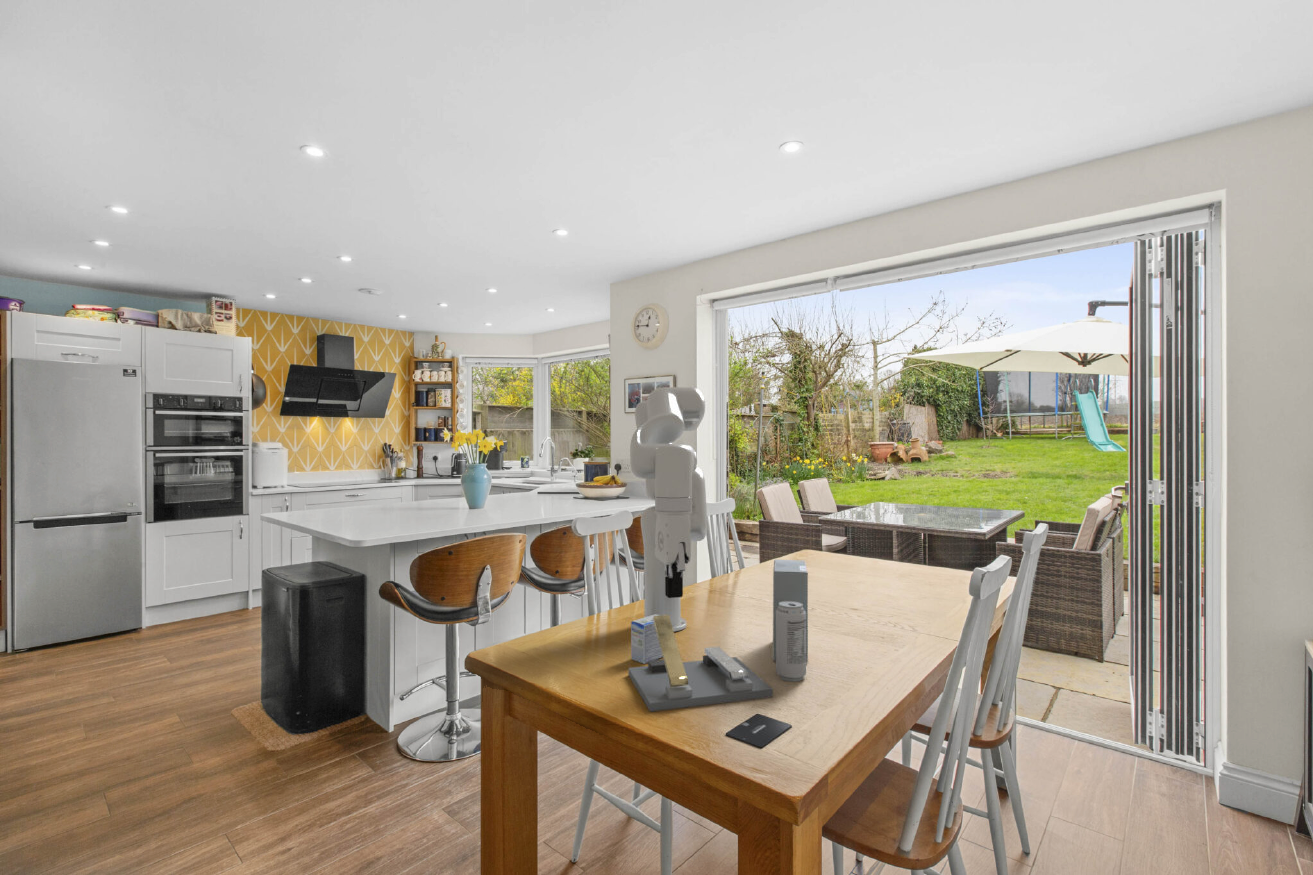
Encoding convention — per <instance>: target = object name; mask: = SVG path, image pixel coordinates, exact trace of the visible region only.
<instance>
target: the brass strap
mask: <svg viewBox="0 0 1313 875" xmlns="http://www.w3.org/2000/svg"><path fill="white" fill-rule="evenodd" d="M653 621H654V625H655V629H656V633H657V637H658V640H659V644H660V648H661V652H662V656H663V657H662V660H663V659H664V663H665V667H666V671H667V675H668V678H669V684H670V687H677V686H686V685H688V677H687V676H686V672H685V669H684V666H683V662H684V661H683V659H682V654H681V652H680V649H679V645H678V642H677V639H676V635H675V632H674V631H673V628H672V624H671V621H670V617H669V615H659V616H654V617H653Z"/></svg>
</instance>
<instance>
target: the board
mask: <svg viewBox="0 0 1313 875" xmlns="http://www.w3.org/2000/svg"><path fill="white" fill-rule="evenodd" d="M730 657H731V658H732V659H733V660H734V661H736V662H737V663H738V664H739V665H740V666H741V667H742V668H743V669H745V670H747V671H748V675H749V677H748V679H739V680H731V679H730V677H729V676H728V675H727V674H726V673H725V672H724V671H723V670H722V669H721V668H720V667H719V666H718V665H717V664H716V663H715V662H714V661H713V660H712V659H711V658H710V657H709V656H708V655H707V654H705V655H702V659H701V660H693V661H685V662H684V661H682V662H683V666H684V669H685V672H686V676H687V677H688V685H686V686H677V687H670V684H669V678H668V675H667V671H666V667H665V663H664V659H663V658H662V659H656V660H653V661H648V663H647V665H646V666H635V667H628V677H629V678H630V680H631V682H632V684H633V685H634V687H635V689H636V690H637V692H638V693H639V696H640V697H641V698H642V700H643V702H644V704H645V705H646V707H647V709H648V710H649V713H652V712H656V711H657V712H658V711H667V710H675V709H684V708H692V707H693V708H694V707H698V706H699V707H701V706H707V705H714V704H715V705H716V704H724V703H725V704H726V703H733V702H741V701H749V700H758V699H764V698H765V699H766V698H772V697H773V694H774V693H773V691H774V690H773V687H771V685H769V684H768V683H767V682H766V681H764V680H763V679H762V678H761V677H760V676H759V675H757V674H756V673H755V672H754V671H753V670H752V669H750V667H748V666H747V665H746V664H745V663H744V662H743V661H741V660H740V659H739V658H738V657H737V656H733V657H732V656H730Z"/></svg>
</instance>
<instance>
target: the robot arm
mask: <svg viewBox="0 0 1313 875" xmlns="http://www.w3.org/2000/svg"><path fill="white" fill-rule="evenodd" d="M634 411H635V412H634V417H635V425H636V429H635V431H634V432H633V434H632V436H631V439H630V443H629V444H630V445H629V446H630V449H629V452H630V454H629V458H630V459H629V460H630V462H629V463H630V468H631V471H632V474H633V475H634V476H635V477H636V478H639V479H642V480H644V479H645V492H646V496H647V497H648V498H649V499H650V500H652V501H654V505H653V506H648V507H647V508H645V509H644V510H643V511H642V513H641V516H640V528H641V536H642V542H643V544H642V545H643V558H644V559H643V562H644V563H643V565H644V566H643V570H644V571H643V572H644V573H643V574H644V575H643V576H644V578H643V579H644V580H643V581H644V587H643V588H644V590H643V592H644V594H643V595H644V598H643V601H644V603H643V604H644V610H643V612H644V617H648V616H651V615H655V614H656V615H669V617H670V621H671V624H672V628H673V631H674V633H675V632H679V631H682V630H684V629H685V628H686V627H687V620H686V619H685V618H683V617H682V616H681V598H682V597H683V596H684V587H683V586H684V584H683V581H684V580H683V578H684V572H686V565H687V564H690V562H691V558H692V543H695V542H702V541H703V540H704V539H705V538H706V536H707V532H708V514H707V512H708V511H707V496H706V495H707V493H706V492H707V491H706V482H705V481H706V480H705V475H704V472H703V470H702V469H701V468H700V467H698V465H697V464H698V457H697V452H696V451H695V450H694V448H693V447H692V446H691V445H689V444H687V443H675V442H676V441H677V440H679V438H681V436H682V435H683V433H684V432H691V431H695V430H697V429H698V428H699V426H700V424H701V423H702V420H703V419H704V416H705V412H706V400H705V397H704V394H703V393H702V392H701V390H700V389H698V388H696V387H691V386H689V387H688V386H687V387H686V386H684V387H682V386H681V387H673V386H672V387H671V386H670V387H669V386H667V387H666V386H664V387H657V388H655V389H653V390H652V391H651V392H650V393H649V394H648V396H647V399H646V400H643V401H640V402H639V403H637V405H636V406H635V410H634Z"/></svg>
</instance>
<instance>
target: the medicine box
mask: <svg viewBox="0 0 1313 875" xmlns="http://www.w3.org/2000/svg"><path fill="white" fill-rule="evenodd" d="M654 616H659V615H656V614H655V615H651V616H648V617H645V616H644V617H641V618H638V619H635V620H632V621H631V622H630V624H631V625H630V630H631V631H630V634H631V635H630V640H631V641H630V642H631V643H630V645H631V646H630V647H631V648H630V650H631V652H630V653H631V654H630V655H631V656H630V658H631V660H633V661H634V662H637V661H638V663H640V664H643V665H644V664H648V661H653V660H660V659H661V658H662V659H663V656H662V652H661V648H660V644H659V640H658V637H657V633H656V629H655V625H654V621H653V617H654Z"/></svg>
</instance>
